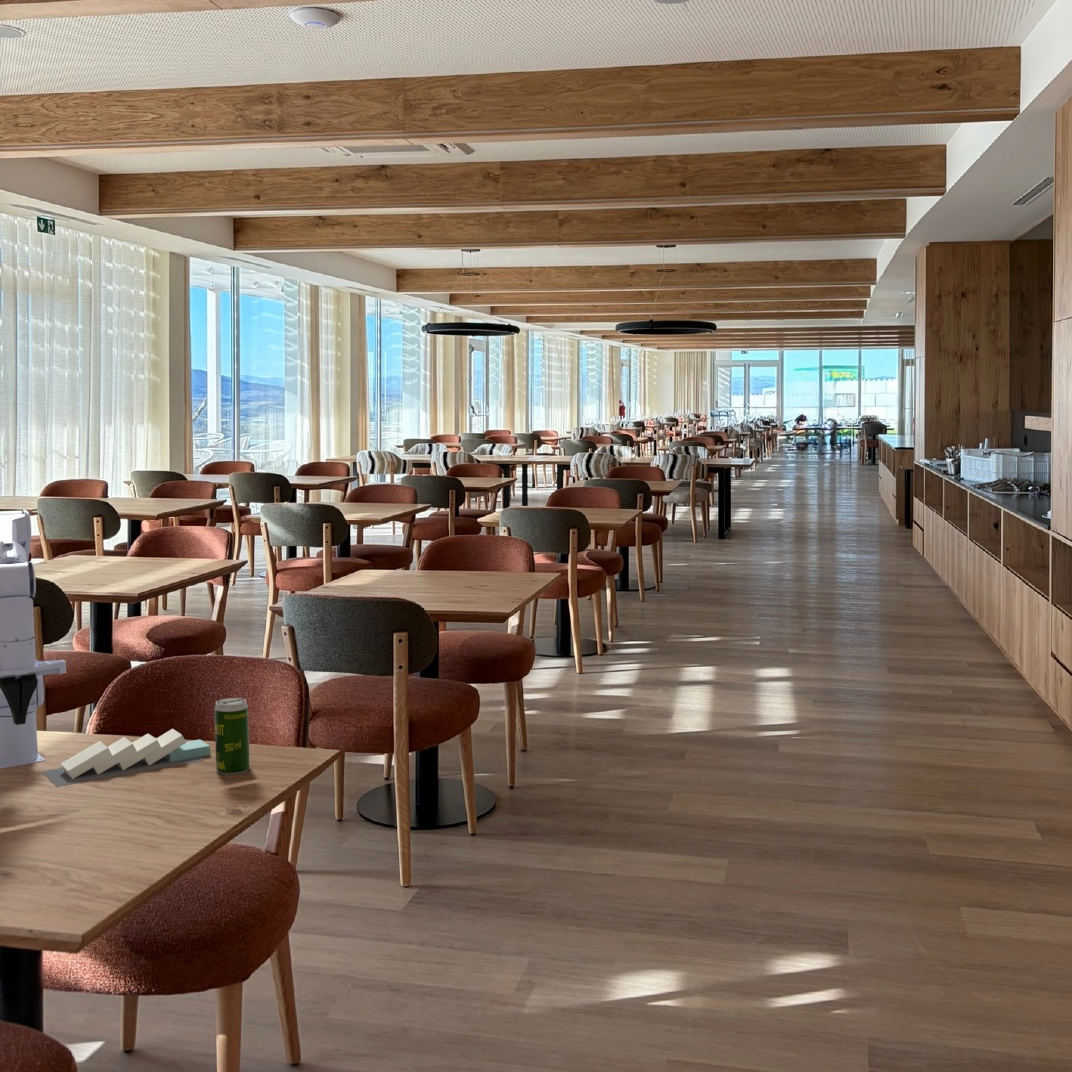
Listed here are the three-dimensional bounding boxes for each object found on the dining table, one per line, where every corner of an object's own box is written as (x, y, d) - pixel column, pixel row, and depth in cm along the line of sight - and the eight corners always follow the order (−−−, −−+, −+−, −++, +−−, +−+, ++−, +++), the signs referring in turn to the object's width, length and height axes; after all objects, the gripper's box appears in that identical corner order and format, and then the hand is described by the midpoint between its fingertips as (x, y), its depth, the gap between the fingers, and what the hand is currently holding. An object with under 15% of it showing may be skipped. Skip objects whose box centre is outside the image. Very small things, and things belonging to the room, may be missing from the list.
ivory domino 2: (93, 766, 192) (132, 743, 195) (85, 759, 196) (123, 736, 199) (98, 774, 192) (137, 751, 196) (89, 767, 196) (128, 744, 200)
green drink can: (242, 765, 198) (239, 696, 197) (255, 773, 194) (253, 702, 193) (211, 771, 195) (209, 700, 194) (224, 779, 191) (221, 707, 190)
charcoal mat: (41, 774, 194) (41, 771, 194) (184, 749, 208) (184, 747, 208) (56, 789, 186) (56, 786, 186) (204, 763, 200) (204, 760, 200)
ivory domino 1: (68, 771, 189) (108, 747, 193) (60, 763, 193) (99, 740, 197) (72, 779, 190) (112, 755, 193) (64, 771, 194) (103, 748, 197)
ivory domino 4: (144, 757, 196) (182, 734, 200) (136, 750, 201) (172, 728, 204) (149, 765, 197) (186, 742, 200) (140, 758, 201) (176, 736, 204)
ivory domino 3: (119, 762, 194) (157, 739, 197) (110, 755, 198) (148, 733, 201) (123, 770, 194) (161, 747, 198) (114, 763, 199) (152, 741, 202)
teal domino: (169, 752, 199) (210, 745, 203) (160, 746, 203) (199, 739, 207) (170, 761, 199) (210, 754, 203) (160, 755, 203) (200, 748, 207)
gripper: (-31, 648, 178) (-26, 735, 179) (69, 637, 186) (73, 721, 188) (-39, 641, 184) (-34, 726, 185) (58, 631, 192) (62, 712, 193)
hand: (19, 723), depth 187 cm, fingers closed
